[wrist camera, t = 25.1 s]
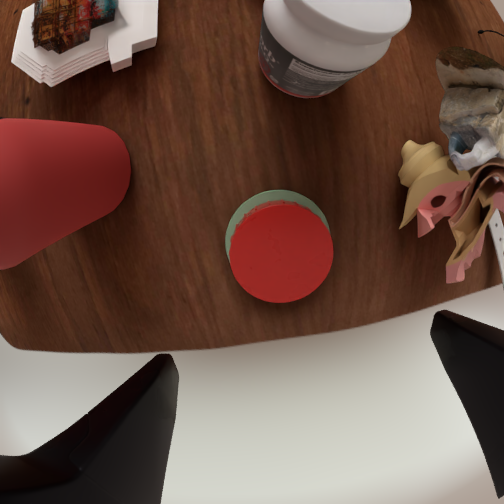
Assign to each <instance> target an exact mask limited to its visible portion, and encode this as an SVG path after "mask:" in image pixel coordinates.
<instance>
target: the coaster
mask: <svg viewBox="0 0 504 504" xmlns="http://www.w3.org/2000/svg"><path fill="white" fill-rule="evenodd" d="M281 199H283V200H285V201H292V202H294V201H296V202H297V203H298V204H301V205H303V206H305V207H306V206H307V207H308V208H310V209H311V211H312V212H313V213H314V214H315V215H316V214H317V215H318V216H319V217H320V218H321V221H322V222H323V223H324V224H325V226H326V227H327V228H328V231H329V233H330V229H329V225H328V222H327V220H326V218H325V216H324V214H323V213H322V211H321V210H320V209H319V207H318V206H317V205H316V204H315V203H314V202H312V201H311V200H310V199H308V198H307V197H305V196H303V195H301V194H299V193H296V192H293V191H288V190H270V191H265V192H262V193H259V194H257V195H255V196H253V197H251V198H250V199H248V200H246V201H245V202H244V203H243V204H242V205H241V206H240V207H239V208H238V209H237V210H236V212H235V213H234V215H233V216H232V218H231V220H230V222H229V225H228V228H227V232H226V239H225V246H226V253H227V257H228V259H229V262H230V255H229V249H230V246H231V242H230V239H231V236H233V233H234V230H235V227H236V224H238V223H239V222H240V220H241V219H242V218H243V217H244V214H247V213H248V212H249V211H250V210H251V209H253V208H255V206H258V205H260V204H263V203H266V202H267V201H268V200H269V201H275V200H281Z"/></svg>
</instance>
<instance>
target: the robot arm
mask: <svg viewBox="0 0 504 504" xmlns="http://www.w3.org/2000/svg"><path fill="white" fill-rule="evenodd" d="M0 119H5V118H3V117H1V118H0ZM430 335H431V338H432V341H433V343H434V345H435V347H436V349H437V352H438V354H439V356H440V359H441V361H442V364H443V366H444V368H445V370H446V372H447V374H448V376H449V378H450V380H451V382H452V384H453V386H454V388H455V390H456V392H457V394H458V396H459V398H460V400H461V402H462V404H463V406H464V408H465V410H466V413H467V415H468V417H469V419H470V421H471V423H472V426H473V428H474V430H475V433H476V435H477V438H478V440H479V442H480V445H481V448H482V450H483V453H484V456H485V459H486V462H487V465H488V467H489V470H490V473H491V477H492V480H493V483H494V486H495V490H496V493H497V496H498V498H500V497H502V496H503V495H504V330H501V329H498V328H495V327H493V326H489V325H487V324H484V323H481V322H478V321H476V320H473V319H470V318H468V317H464V316H462V315H459V314H456V313H453V312H451V311H448V310H441V311H438V312H436V313H435V315H434V319H433V323H432V327H431V331H430ZM178 382H179V374H178V370H177V368H176V365H175V363H174V360H173V358H172V356H171V355H170V354H158V355H156V356H155V357H154V358H153V359H152V360H150V361H149V362H148V363H147V364H146V365H145V366H143V367H142V368H141V369H140V370H139V371H137V372H136V373H135V374H134V375H133V376H131V377H130V378H129V379H128V380H127V381H125V382H124V383H123V384H122V385H121V386H119V387H118V388H117V389H116V390H115V391H113V392H112V393H111V394H110V395H109V396H107V397H106V398H105V399H104V400H103V401H101V402H100V403H99V404H98V405H97V406H95V407H94V408H93V409H92V410H90V411H89V412H88V414H85V415H84V416H83V417H82V418H81V419H79V420H78V421H77V422H75V423H74V424H73V425H72V426H70V427H69V428H68V429H66V430H65V431H63V432H62V433H60V434H59V435H57V436H56V437H54V438H53V439H52V440H50V441H48V442H47V443H45V444H43V445H42V446H40V447H39V448H37V449H35V450H34V451H32V452H30V453H28V454H26V455H21V456H4V455H3V456H2V455H0V504H160V503H161V497H162V491H163V485H164V478H165V472H166V467H167V461H168V455H169V450H170V445H171V439H172V433H173V429H174V423H175V418H176V408H177V395H178Z"/></svg>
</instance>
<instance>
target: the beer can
mask: <svg viewBox="0 0 504 504" xmlns="http://www.w3.org/2000/svg"><path fill="white" fill-rule="evenodd" d="M130 174H131V165H130V156H129V153H128V151H127V148H126V146H125V144H124V141H123V140H122V139H121V138H120V137H119V136H118V135H117V134H116V132H114V131H112V130H110V129H108V128H106V127H104V126H99V125H91V124H83V123H74V122H64V121H52V120H38V119H13V118H5V119H0V270H4V269H7V268H11V267H15V266H16V265H18V264H19V263H21V262H23V261H24V260H26V259H27V258H29V257H31V256H32V255H34V254H36V253H37V252H39V251H41V250H42V249H44V248H46V247H48V246H49V245H51V244H53V243H55V242H56V241H58V240H60V239H62V238H63V237H65V236H67V235H69V234H71V233H73V232H74V231H76V230H78V229H80V228H82V227H84V226H86V225H88V224H90V223H92V222H94V221H96V220H98V219H100V218H102V217H104V216H105V215H107V214H109V213H110V212H112V211H114V210H115V208H116V207H117V206H118V205H119V204H120V202H121V201H122V200H123V198H124V196H125V193H126V191H127V189H128V187H129V181H130Z"/></svg>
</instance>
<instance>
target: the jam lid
mask: <svg viewBox="0 0 504 504" xmlns="http://www.w3.org/2000/svg"><path fill="white" fill-rule="evenodd" d="M230 242H231V246H230V249H229V255H230V265H231V269H232V272H233V274H234V276H235V278H236V280H237V281H238V283H239V284H240V285H241V287H242V288H243V289H244V290H246V291H247V292H248V293H249V294H251V295H253V296H254V297H256V298H258V299H261V300H264V301H267V302H273V303H285V302H291V301H295V300H298V299H301V298H303V297H305V296H307V295H309V294H310V293H312V292H313V291H314V290H316V289H317V288H318V287H319V286H320V285H321V283H322V282H323V281H324V279H325V278H326V276H327V275H328V272H329V270H330V268H331V265H332V260H333V243H332V238H331V236H330V233H329V231H328V228H327V227H326V226H325V224H324V223H323V222H322V221H321V218H320V217H319V216H318V215H317V214H316V215H315V214H314V213H313V212H312V211H311V209H310V208H308V207H307V206H306V207H305V206H303V205H301V204H298V203H297V202H296V201H294V202H292V201H285V200H283V199H281V200H275V201H269V200H268V201H267V202H266V203H263V204H260V205H258V206H255V208H253V209H251V210H250V211H249V212H248V213H247V214H244V217H243V218H242V219H241V220H240V222H239V223H238V224H236V227H235V230H234V233H233V236H231V239H230Z"/></svg>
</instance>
